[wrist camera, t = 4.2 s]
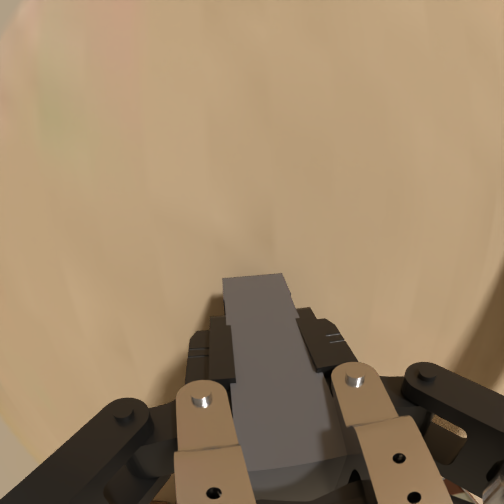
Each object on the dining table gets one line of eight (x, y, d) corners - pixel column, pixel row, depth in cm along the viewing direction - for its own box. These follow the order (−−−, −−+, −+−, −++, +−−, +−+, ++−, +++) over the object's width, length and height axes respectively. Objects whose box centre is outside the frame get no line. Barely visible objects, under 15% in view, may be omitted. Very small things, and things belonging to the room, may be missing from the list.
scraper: (363, 265, 14) (486, 403, 6) (324, 470, 21) (351, 560, 12) (135, 284, 13) (66, 463, 5) (198, 484, 20) (202, 579, 12)
